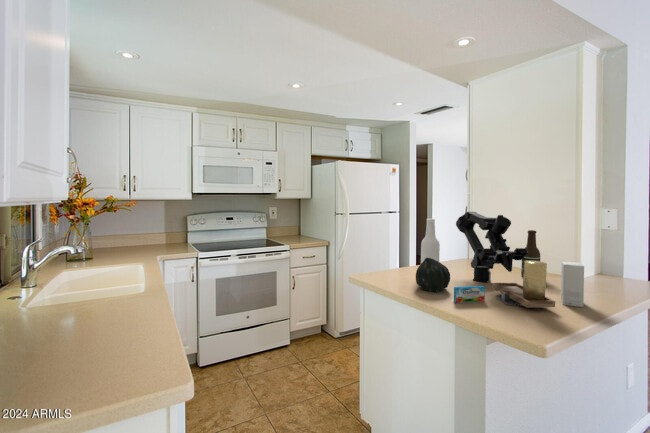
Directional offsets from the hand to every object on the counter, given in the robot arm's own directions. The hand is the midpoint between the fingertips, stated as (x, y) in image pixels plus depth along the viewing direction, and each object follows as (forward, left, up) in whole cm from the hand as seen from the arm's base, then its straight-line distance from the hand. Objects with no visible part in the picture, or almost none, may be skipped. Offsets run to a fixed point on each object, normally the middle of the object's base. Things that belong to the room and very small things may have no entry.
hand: (510, 271), depth 134 cm
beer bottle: (+1, +37, -10) cm, 39 cm away
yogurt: (-10, -19, -11) cm, 24 cm away
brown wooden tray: (+5, -5, -8) cm, 11 cm away
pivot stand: (+5, -5, -10) cm, 13 cm away
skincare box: (+20, +5, -10) cm, 23 cm away
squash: (-28, -12, -10) cm, 32 cm away
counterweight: (+10, -10, -7) cm, 16 cm away
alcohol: (-37, +5, -10) cm, 39 cm away
